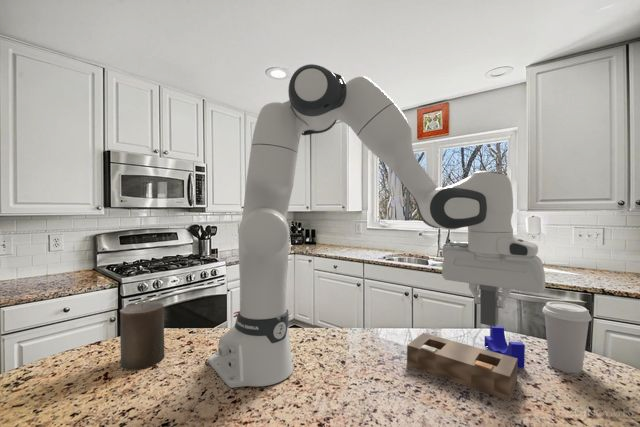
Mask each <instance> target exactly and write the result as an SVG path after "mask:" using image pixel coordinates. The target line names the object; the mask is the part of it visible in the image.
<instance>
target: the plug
mask: <svg viewBox="0 0 640 427" xmlns="http://www.w3.org/2000/svg"><path fill="white" fill-rule="evenodd" d="M478 287H479V288H478V289H479V290H480V291H479V295H480V304H479V305H480V307H479V308H480V318H479V319H480V322H479V323H480V325H484V326H485V325H486V326H489V327H490V326H494V327H496V326H498V324H499V308H498V307H496V304H497V303H496V299H497V298H499V290H500V289H501V288H499V287H494V286H487V285H481V284H479V285H478Z"/></svg>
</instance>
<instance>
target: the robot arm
mask: <svg viewBox="0 0 640 427" xmlns="http://www.w3.org/2000/svg"><path fill="white" fill-rule="evenodd" d="M287 92H288V100H287V101H284V102H277V101H276V102H269V103H266V104H265V105H264V106H263V107H262V108H261V109H260V111H259V114H258V116H257V120H256V123H255V126H254V129H253V133H252V140H251V146H250V152H249V160H248V166H247V176H246V183H245V191H244V192H245V193H244V200H243V201H244V202H243V208H242V218H241V222H240V224H239V227H238V236H237V237H238V267H239V268H238V270H239V273H238V274H239V310H238V311H236V312H233V315H234V314H235V315H234V316H233V318H236V319H235V323H234V325H233V327H232V328H230V329H229V330H228V331H226V332H225V333H224V334H223V335H222V336H220V338H219V340H218V346H217V347H218V348H217V349H218V350H217V351H216V352H214V353H213V354H211V355H210V356H209V357H208V358H207V359H208V360H207V361H208V364H209V365H210V367H211V368H212V369H213V370H214V371H215V373H217V375H218V376H219V377H220V379H221V380H223V382H224V383H225V385H227V386H228V388H232V389H233V388H241V387H266V386H271V385H275V384H279V383H281V382H282V381H284V380H286V379H287V378H289V377H290V376H291V375H292V373H293V371H294V363H293V359H294V353H293V352H292V349H291V337H290V329H289V320H290V314H289V310H288V308H287V307H288V306H287V305H288V304H287V302H288V301H287V300H288V286H287V282H288V279H287V278H288V269H289V256H290V255H289V251H290V226H289V223H288V221H287V217H288V212H289V205H290V202H291V197H292V192H293V188H294V182H295V175H296V169H297V168H296V167H297V161H298V152H299V145H300V140H301V137H302V136H309V135H314V134H322V133H326V132H327V131H328V132H329V131H330V130H331V129H332V128H334V126H335V124H336V123H337V121H341V122H343V123H344V124H346V125H347V126H348V127H350V129H351V130H352V132H353V133H354V134H355V135H356V137H357V138H358V139H359V140H360V141H361V142H362V144H364V146H365V147H366V148H367V149H368V150H370V152H371V153H373V155H374V156H375V157H377V158H378V159H379V160H381V162H383V163H384V164H385V165H386V166H387V167H388V168H389V169H390V170H391V171H392V172H393V173H394V174H395V176H396V177H397V178H398V179H399V181H400V182H401V183H402V185H403V186H404V187H405V189H406V190H407V191H408V192H409V194H410V195H411V196H412V198H413V200H414V202H415V205H416V210H417V213H418V216H419V218H420V219H421V221H422V222H423V223H424V224H425V225H427V226H429V227H431V228H433V229H434V228H435V229H444V230H458V229H461V228H467V242H466V241H465V242H464V241H461V242H460V241H459V242H458V241H457V242H456V241H448V242H446V243H444V245H443V246H442V249H441V250H442V251H441V252H442V253H441V254H442V257H443V261H442V267H441V268H442V269H441V276H442V278H443V279H444V280H445V281H451V282H457V283H458V282H459V283H466V284H468V289H469V291H470V292H471V294H472V295H473V299H474V301H473V302H474V304H475V305H476V304H477V305H480V292H479V291H478V289H477V288H478V287H479V284H481V285H487V286H494V287H499V288H500V289H501V293H502V294H504V295H503V296H502V297H500V298H499V297H498V298H497V299H496V303H497V304H496V307H498V309H505V308H506V299H507V298H508V297H509V296H510V294H511V293H512V291H513V290H514V291H520V292H526V293H527V292H528V293H533V294H534V293H535V294H540V293H542V292H543V291H545V289H546V274H545V269H544V268H545V267H544V264H543V261H542V259H541V258H540V257H539V256H537V254H538V252H539V246H538V244H536V243H533V242H530V241H527V240H524V239H522V238H517V237H514V228H513V225H512V216H513V213H514V198H513V197H514V195H513V187H512V183H511V182H512V181H511V179H510V178H509V176H507V175H506V174H504V173H502V172H499V171H492V170H476V171H474V172H472V173H471V174H470V175H469V176H467V177H465V178H463V179H462V180H461V179H460V180H459V181H457V182H455V183H453V184H450V185H447V186H444V187H441V186H439V185H438V184H436V183H435V182H434V181H433V179H432V178H431V177H430V176H429V174H428V173H427V172H426V170H425V169H424V167H423V166H422V165H421V163H420V162H419V160H418V159H417V157H416V156H415V153H414V152H415V151H414V150H413V141H412V139H413V136H412V135H413V134H412V126H411V125H410V123H409V122H408V119H407V117H406V116H405V114H404V113H403V111H402V110H401V109H400V107H399V106H398V105H397V104H396V103H395V102H394V101H393V99H392V98H391V97H390V96H389V95H388V94H387V93H386V92H385V91H384V90H383V89H381V87H379V85H377V83H375V82H374V81H373V80H371V79H370V78H368V77H366V76H357V77H354V78H352V79H349V80H348V81H347V82H346V81H345V79H344V77H343V76H342V75H341V74H338V73H335V72H333V71H330V70H329V69H328V68H326V67H324V66H321V65H319V64H314V63H310V64H306V65H302V66H300V67H299V68H297V69H296V70H295V71H294V72H293V74H292V75H291V78H290V80H289V83H288V91H287Z"/></svg>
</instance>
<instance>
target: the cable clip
mask: <svg viewBox="0 0 640 427" xmlns="http://www.w3.org/2000/svg"><path fill="white" fill-rule="evenodd" d="M489 328H490V329H489V332H490V333H489V335H484V347H485V346H488V347H487V348H488V349H489V350H490V351H492V352H496V353H499V354H503V355H507V356H510V357H514V358H518V368H517V369H525V358H526V356H525V355H526V354H525V353H526V352H525V349H526V345H525V343H523V342H522V341H508V343H507V340H506V334H505V327H504V326H502V325H496V327H494V326H489ZM487 348H486V349H487ZM488 349H487V350H488ZM489 350H488V351H489Z"/></svg>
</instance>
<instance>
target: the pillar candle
mask: <svg viewBox="0 0 640 427" xmlns="http://www.w3.org/2000/svg"><path fill="white" fill-rule="evenodd" d="M164 307H165V306H164V303H163V302H159V301H147V302H146V301H145V302H144V301H143V302H139V303H135V304H130V305H126V306H124V307H122V308H121V309H119V313H120V317H119V318H120V340H119V342H120V347H119V348H120V367H121V368H122V369H124V370H130V371H131V370H143V369H147V368H150V367H152V366H155V365H157V364H159V363H160V362H162V361H163V359H164V358H165V317H164V316H165V314H164V313H165V308H164Z"/></svg>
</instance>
